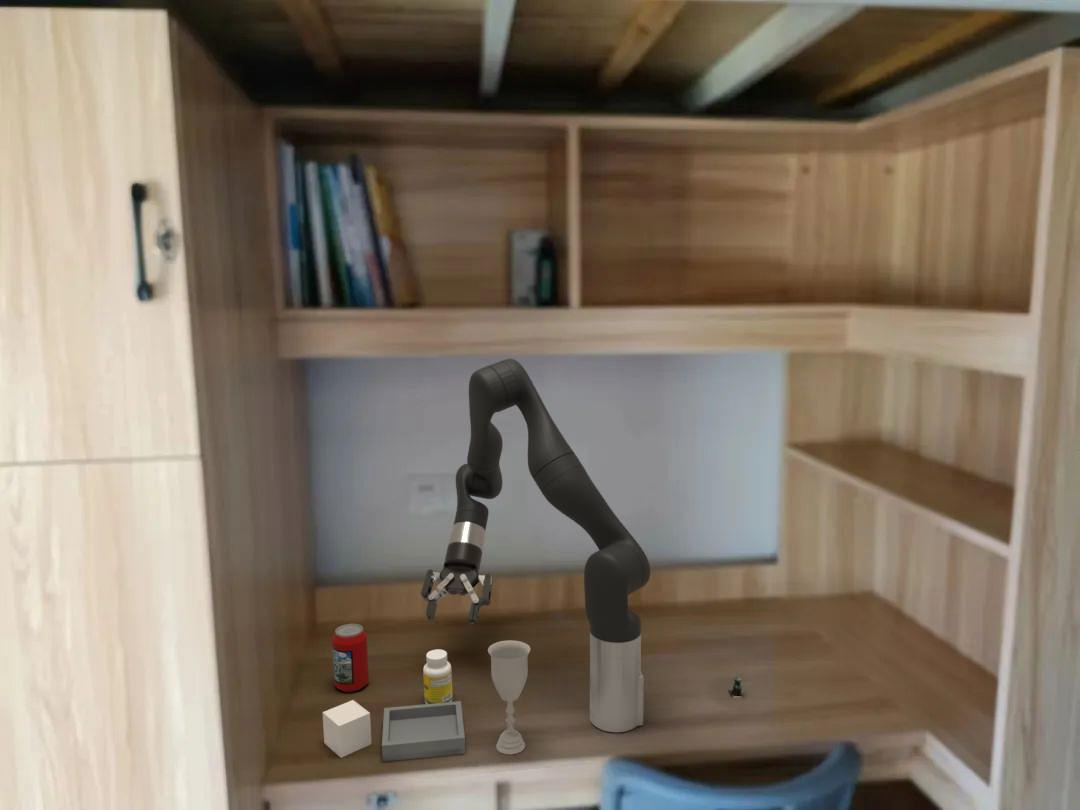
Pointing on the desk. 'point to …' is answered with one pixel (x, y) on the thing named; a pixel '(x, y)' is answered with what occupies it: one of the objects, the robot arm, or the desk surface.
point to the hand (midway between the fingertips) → (450, 621)
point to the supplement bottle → (437, 678)
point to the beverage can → (350, 657)
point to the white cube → (347, 728)
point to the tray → (423, 731)
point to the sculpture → (736, 688)
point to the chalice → (509, 686)
